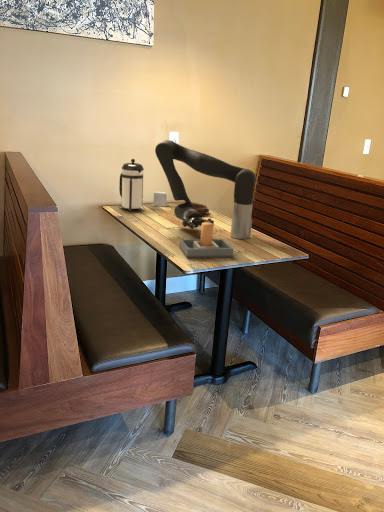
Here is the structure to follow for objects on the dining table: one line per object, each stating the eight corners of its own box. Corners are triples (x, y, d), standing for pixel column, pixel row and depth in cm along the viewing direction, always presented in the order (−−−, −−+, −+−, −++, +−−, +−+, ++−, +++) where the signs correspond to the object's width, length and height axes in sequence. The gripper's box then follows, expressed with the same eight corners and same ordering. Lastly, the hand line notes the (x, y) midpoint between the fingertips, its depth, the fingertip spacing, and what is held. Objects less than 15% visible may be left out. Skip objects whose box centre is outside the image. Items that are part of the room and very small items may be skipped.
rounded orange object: (209, 248, 185) (211, 222, 181) (212, 252, 180) (214, 225, 176) (198, 248, 184) (200, 222, 180) (201, 252, 179) (203, 225, 175)
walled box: (221, 247, 191) (222, 239, 190) (232, 257, 178) (233, 248, 177) (179, 248, 186) (179, 239, 185) (186, 258, 173) (187, 249, 172)
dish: (169, 211, 256) (169, 203, 254) (201, 209, 265) (202, 202, 264) (180, 217, 241) (181, 209, 239) (214, 216, 250) (215, 208, 249)
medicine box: (165, 205, 269) (166, 192, 267) (165, 207, 265) (166, 193, 262) (153, 204, 269) (154, 191, 266) (153, 206, 265) (153, 192, 262)
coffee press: (146, 207, 260) (148, 158, 250) (141, 213, 245) (142, 160, 235) (119, 205, 261) (120, 156, 251) (112, 210, 246) (112, 158, 236)
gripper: (178, 210, 198) (187, 218, 184) (207, 210, 202) (217, 218, 187) (177, 225, 201) (186, 235, 186) (206, 225, 205) (216, 234, 190)
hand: (202, 226), depth 187 cm, fingers open, 8 cm apart
